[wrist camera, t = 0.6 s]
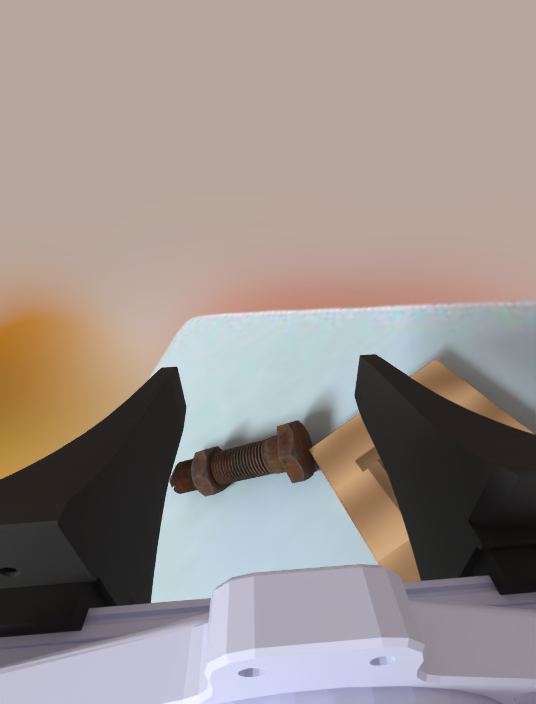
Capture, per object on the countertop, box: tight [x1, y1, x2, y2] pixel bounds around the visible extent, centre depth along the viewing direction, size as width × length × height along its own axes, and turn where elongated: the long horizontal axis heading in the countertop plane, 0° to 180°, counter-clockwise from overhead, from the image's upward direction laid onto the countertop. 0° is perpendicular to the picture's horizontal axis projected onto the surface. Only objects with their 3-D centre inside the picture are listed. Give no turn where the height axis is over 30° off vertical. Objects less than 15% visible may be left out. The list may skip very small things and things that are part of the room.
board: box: [309, 359, 534, 582], centre depth 24 cm, size 14×14×3 cm
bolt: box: [170, 421, 315, 496], centre depth 32 cm, size 6×5×15 cm
